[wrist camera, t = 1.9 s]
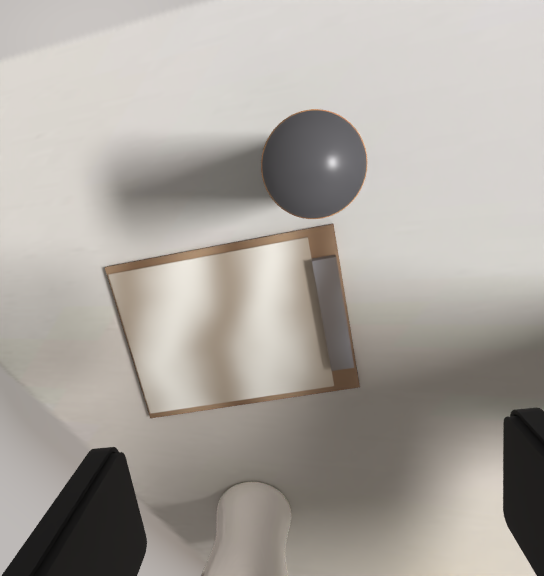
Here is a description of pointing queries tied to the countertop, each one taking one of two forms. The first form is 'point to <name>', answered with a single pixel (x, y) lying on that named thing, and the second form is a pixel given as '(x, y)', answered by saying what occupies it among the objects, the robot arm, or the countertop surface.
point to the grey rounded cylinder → (314, 164)
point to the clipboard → (237, 322)
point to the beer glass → (250, 532)
